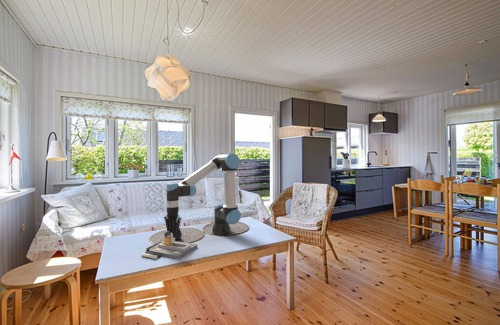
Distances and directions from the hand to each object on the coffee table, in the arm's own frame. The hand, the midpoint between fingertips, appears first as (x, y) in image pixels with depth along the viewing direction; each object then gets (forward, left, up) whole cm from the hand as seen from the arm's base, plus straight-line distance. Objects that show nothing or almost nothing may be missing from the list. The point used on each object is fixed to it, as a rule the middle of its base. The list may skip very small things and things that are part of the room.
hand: (172, 242), depth 158 cm
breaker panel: (0, +1, -6) cm, 6 cm away
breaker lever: (0, -3, -3) cm, 4 cm away
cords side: (+1, -13, -6) cm, 14 cm away
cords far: (+13, -6, -5) cm, 16 cm away
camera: (-16, -12, -6) cm, 21 cm away
